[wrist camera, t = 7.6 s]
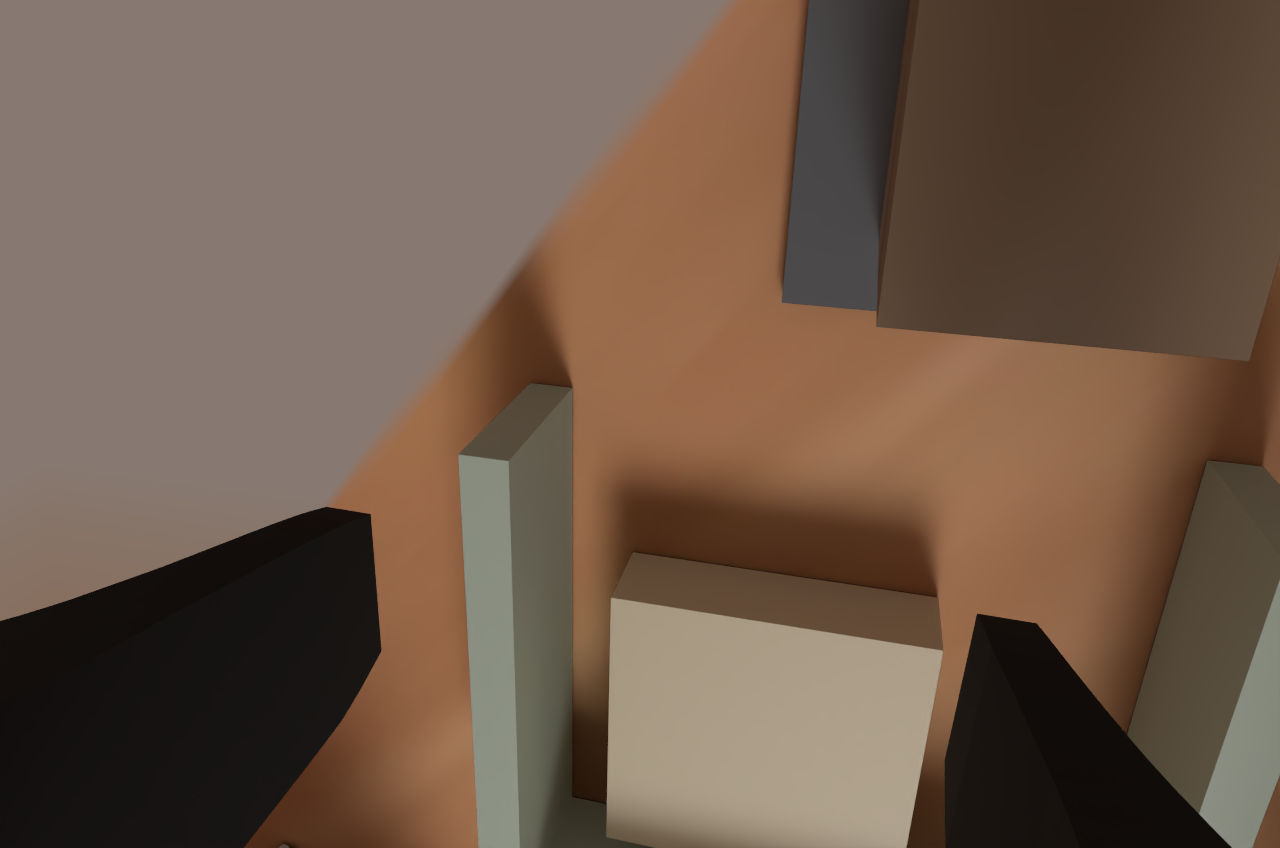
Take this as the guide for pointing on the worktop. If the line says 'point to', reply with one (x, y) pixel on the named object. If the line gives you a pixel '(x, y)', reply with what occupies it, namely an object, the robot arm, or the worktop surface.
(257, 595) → the robot arm
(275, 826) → the worktop surface
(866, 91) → the mat
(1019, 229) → the block
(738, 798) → the crate
